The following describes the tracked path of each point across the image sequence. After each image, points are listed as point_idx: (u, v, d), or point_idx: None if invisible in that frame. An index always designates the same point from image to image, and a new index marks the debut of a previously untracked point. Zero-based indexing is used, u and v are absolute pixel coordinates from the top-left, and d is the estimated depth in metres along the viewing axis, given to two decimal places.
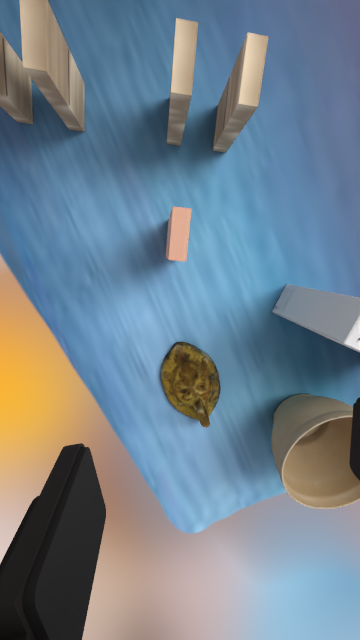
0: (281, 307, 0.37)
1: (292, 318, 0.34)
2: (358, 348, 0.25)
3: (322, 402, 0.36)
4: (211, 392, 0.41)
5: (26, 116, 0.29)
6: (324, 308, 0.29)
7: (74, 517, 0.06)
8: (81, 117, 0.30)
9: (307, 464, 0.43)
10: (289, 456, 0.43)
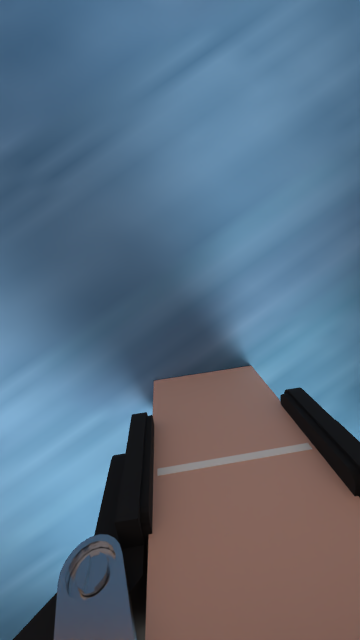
0: None
1: None
2: None
3: None
4: None
5: None
6: None
7: (153, 468, 0.08)
8: None
9: None
10: None
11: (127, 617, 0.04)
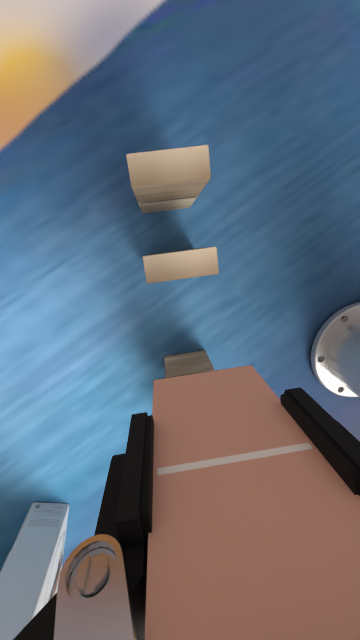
0: (34, 517, 0.33)
1: (12, 551, 0.29)
2: None
3: None
4: None
5: (141, 210, 0.24)
6: (13, 607, 0.24)
7: None
8: None
9: None
10: None
11: (127, 617, 0.04)
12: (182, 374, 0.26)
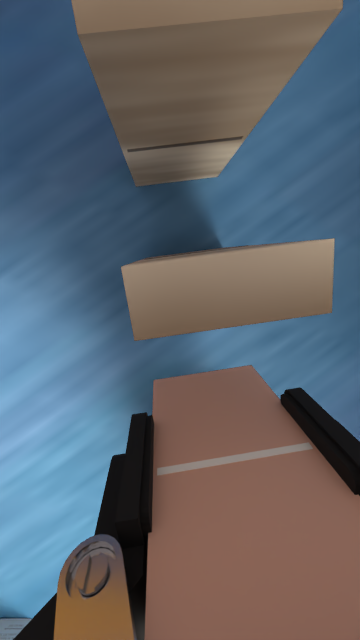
0: None
1: None
2: None
3: None
4: None
5: (134, 178, 0.14)
6: None
7: None
8: None
9: None
10: None
11: (127, 617, 0.04)
12: None
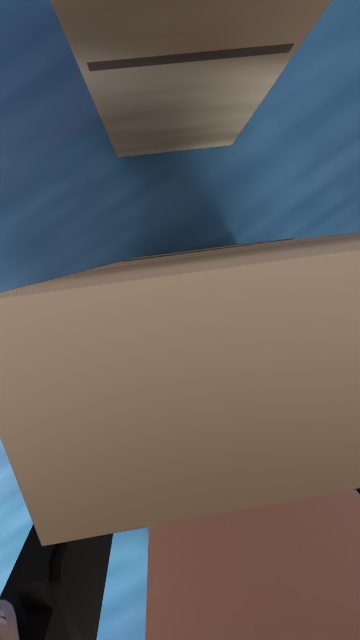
0: None
1: None
2: None
3: None
4: None
5: (112, 140, 0.09)
6: None
7: None
8: None
9: None
10: None
11: None
12: None
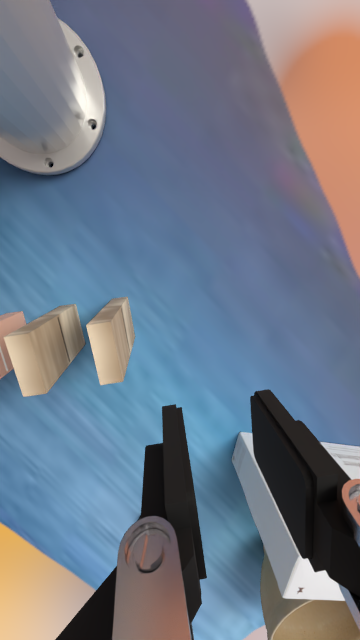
0: (236, 464, 0.34)
1: (245, 494, 0.31)
2: (301, 598, 0.22)
3: None
4: None
5: None
6: (266, 517, 0.26)
7: None
8: None
9: None
10: None
11: (182, 602, 0.04)
12: None
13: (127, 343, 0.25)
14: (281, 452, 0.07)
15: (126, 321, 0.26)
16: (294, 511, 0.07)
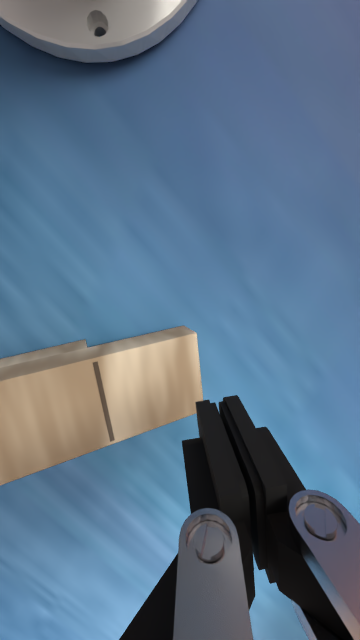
0: None
1: None
2: None
3: None
4: None
5: None
6: None
7: None
8: None
9: None
10: None
11: (245, 603, 0.04)
12: None
13: (100, 425, 0.13)
14: (239, 461, 0.07)
15: (130, 384, 0.13)
16: (251, 521, 0.07)
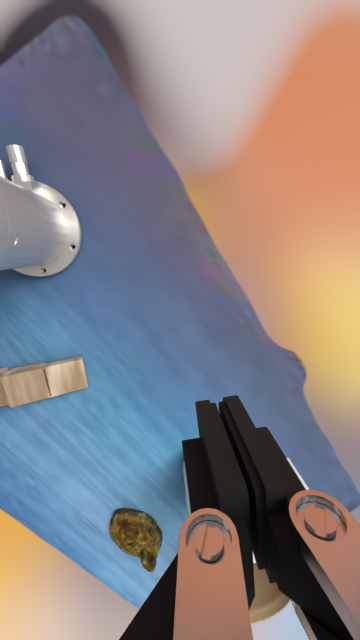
0: (184, 471, 0.46)
1: None
2: None
3: None
4: (152, 541, 0.51)
5: None
6: None
7: None
8: None
9: None
10: None
11: (244, 603, 0.04)
12: None
13: (46, 390, 0.38)
14: (239, 460, 0.07)
15: (56, 376, 0.39)
16: (251, 521, 0.07)
